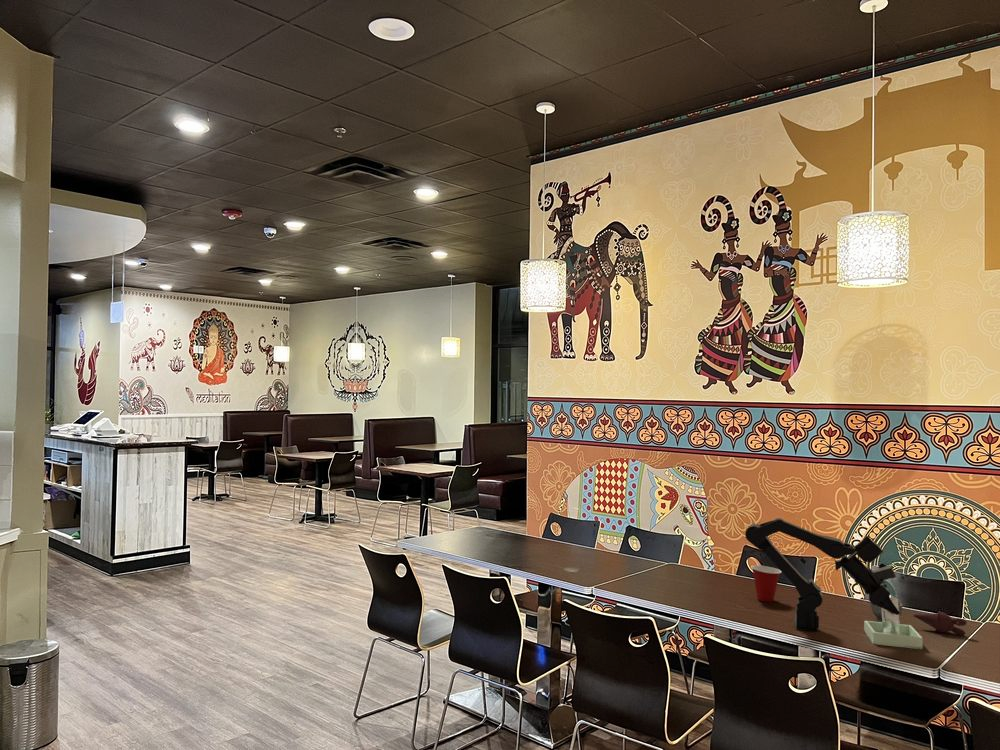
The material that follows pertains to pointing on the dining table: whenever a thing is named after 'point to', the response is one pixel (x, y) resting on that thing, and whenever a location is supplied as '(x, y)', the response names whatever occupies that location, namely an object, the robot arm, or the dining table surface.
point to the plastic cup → (765, 582)
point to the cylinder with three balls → (891, 619)
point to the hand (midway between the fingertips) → (897, 611)
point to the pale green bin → (893, 636)
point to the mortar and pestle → (878, 611)
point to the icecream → (942, 622)
